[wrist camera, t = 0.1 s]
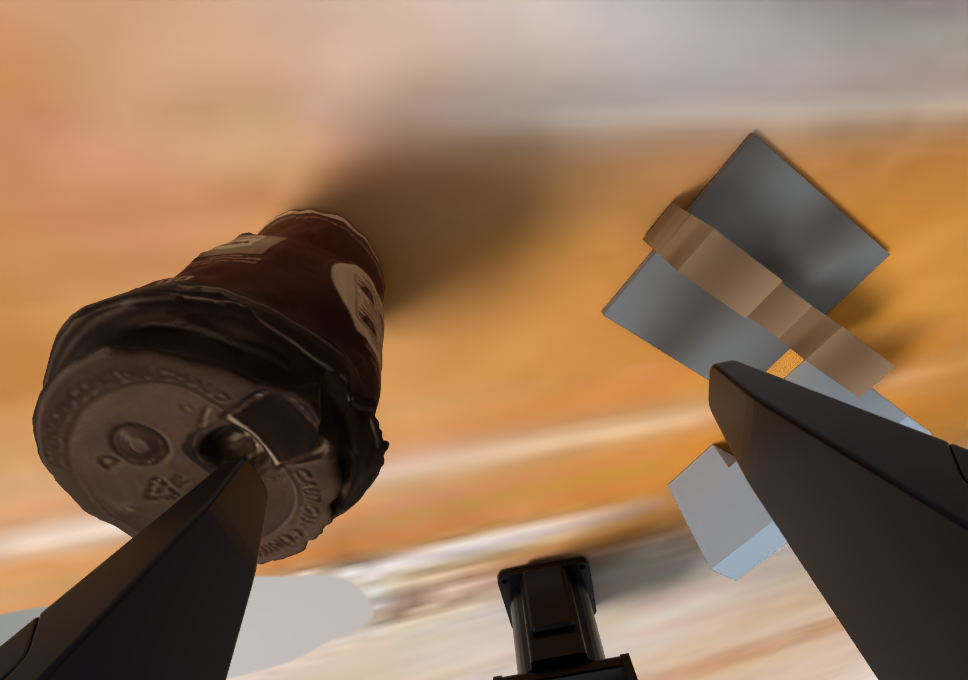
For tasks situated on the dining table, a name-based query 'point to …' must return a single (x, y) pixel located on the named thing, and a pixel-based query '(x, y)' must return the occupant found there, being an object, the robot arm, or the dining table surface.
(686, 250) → the slotted base
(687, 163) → the dining table surface
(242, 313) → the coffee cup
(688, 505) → the pale blue slat
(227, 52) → the dining table surface
